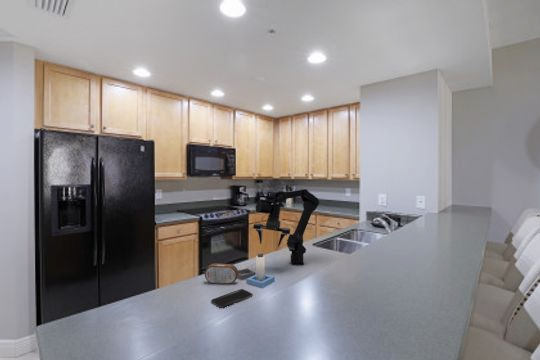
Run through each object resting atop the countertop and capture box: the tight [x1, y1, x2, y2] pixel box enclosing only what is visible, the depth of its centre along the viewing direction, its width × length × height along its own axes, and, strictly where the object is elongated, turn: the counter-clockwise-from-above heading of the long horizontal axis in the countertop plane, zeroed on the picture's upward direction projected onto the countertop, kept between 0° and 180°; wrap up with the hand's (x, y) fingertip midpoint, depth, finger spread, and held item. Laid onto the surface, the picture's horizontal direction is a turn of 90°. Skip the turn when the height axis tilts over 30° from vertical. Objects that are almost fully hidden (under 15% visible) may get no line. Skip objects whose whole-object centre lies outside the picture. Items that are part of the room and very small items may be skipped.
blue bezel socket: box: [245, 274, 276, 289], centre depth 116 cm, size 9×9×2 cm
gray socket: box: [237, 268, 256, 281], centre depth 124 cm, size 8×8×2 cm
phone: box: [210, 288, 254, 309], centre depth 99 cm, size 8×1×15 cm
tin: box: [204, 263, 239, 285], centre depth 116 cm, size 15×3×8 cm, turn 84°
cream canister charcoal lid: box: [255, 253, 266, 281], centre depth 116 cm, size 4×4×12 cm
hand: (269, 245), depth 132 cm, fingers open, 9 cm apart
